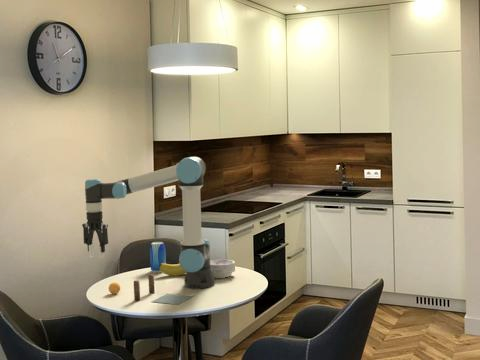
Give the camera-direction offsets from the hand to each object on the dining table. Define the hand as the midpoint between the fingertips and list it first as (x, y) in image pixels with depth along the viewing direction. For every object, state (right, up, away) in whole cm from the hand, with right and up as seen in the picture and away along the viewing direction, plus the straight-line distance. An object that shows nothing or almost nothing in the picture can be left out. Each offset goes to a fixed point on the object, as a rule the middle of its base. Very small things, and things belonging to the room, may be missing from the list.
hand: (96, 258), depth 292 cm
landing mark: (+39, -17, -15) cm, 45 cm away
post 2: (+27, -16, -4) cm, 32 cm away
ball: (+9, -14, -3) cm, 17 cm away
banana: (+37, -13, +32) cm, 51 cm away
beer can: (+24, -13, +42) cm, 50 cm away
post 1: (+22, -17, -15) cm, 32 cm away
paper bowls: (+60, -13, +25) cm, 66 cm away
